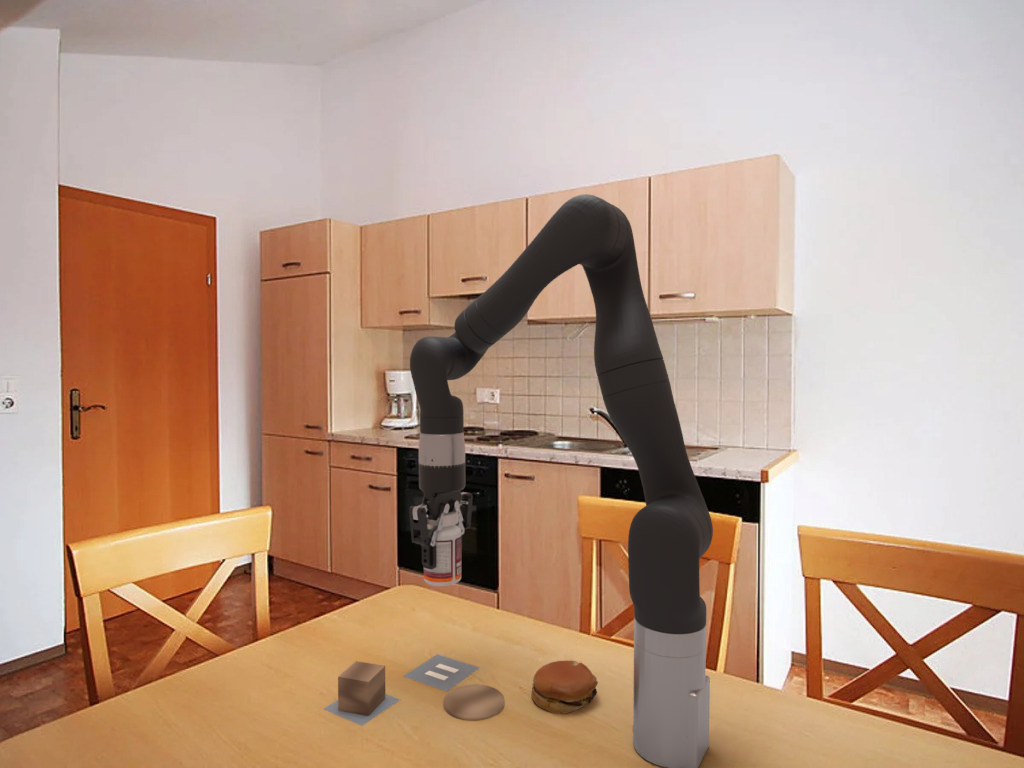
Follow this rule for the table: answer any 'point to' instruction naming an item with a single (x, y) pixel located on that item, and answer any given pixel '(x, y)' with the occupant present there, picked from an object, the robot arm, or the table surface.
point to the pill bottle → (446, 553)
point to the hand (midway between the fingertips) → (442, 562)
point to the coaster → (473, 702)
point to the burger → (563, 686)
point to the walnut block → (361, 688)
